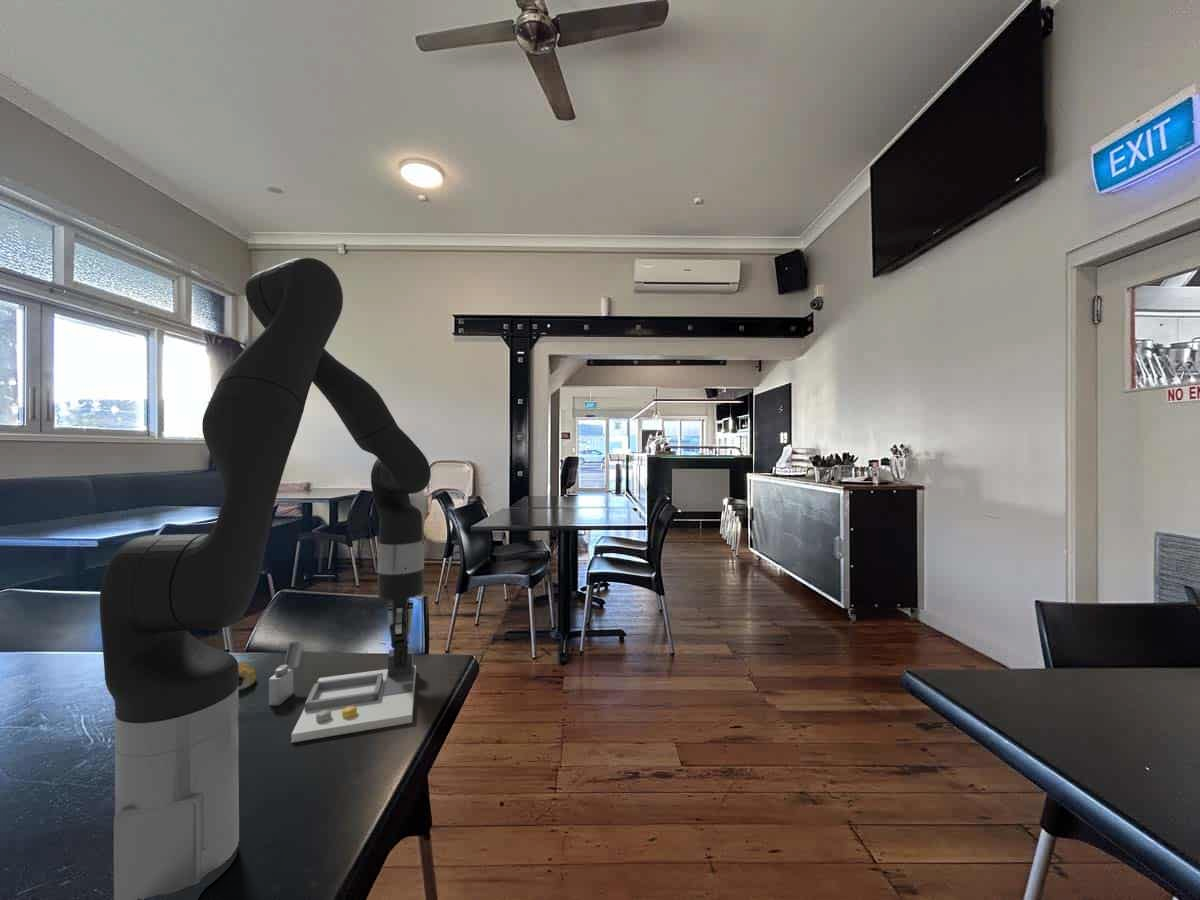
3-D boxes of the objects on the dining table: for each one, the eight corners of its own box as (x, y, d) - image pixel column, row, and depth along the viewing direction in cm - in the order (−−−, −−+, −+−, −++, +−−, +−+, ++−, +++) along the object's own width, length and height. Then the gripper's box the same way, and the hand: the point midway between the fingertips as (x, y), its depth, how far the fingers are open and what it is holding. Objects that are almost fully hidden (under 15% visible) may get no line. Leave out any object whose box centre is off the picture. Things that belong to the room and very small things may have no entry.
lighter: (279, 705, 80) (279, 656, 80) (268, 705, 80) (268, 656, 80) (303, 684, 87) (303, 639, 87) (293, 684, 87) (293, 639, 87)
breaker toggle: (412, 673, 88) (412, 653, 88) (388, 676, 87) (388, 656, 87) (412, 666, 91) (412, 647, 91) (389, 669, 90) (389, 650, 90)
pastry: (209, 679, 89) (209, 658, 89) (254, 669, 93) (254, 649, 93) (207, 700, 82) (207, 677, 82) (257, 688, 86) (257, 667, 86)
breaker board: (411, 722, 75) (411, 706, 75) (291, 742, 70) (291, 725, 70) (415, 671, 92) (415, 658, 92) (319, 684, 87) (319, 671, 87)
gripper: (422, 574, 81) (422, 680, 81) (424, 558, 93) (424, 649, 93) (372, 578, 78) (372, 687, 78) (381, 560, 91) (381, 654, 91)
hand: (400, 666), depth 86 cm, fingers closed
